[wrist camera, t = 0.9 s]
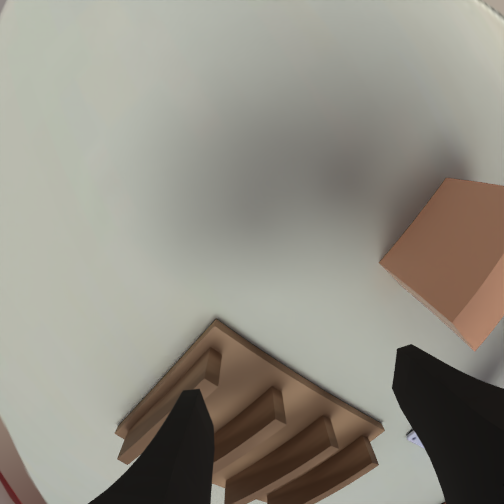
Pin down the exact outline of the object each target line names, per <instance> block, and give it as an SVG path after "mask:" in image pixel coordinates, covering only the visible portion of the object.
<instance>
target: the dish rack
mask: <svg viewBox="0 0 504 504" xmlns="http://www.w3.org/2000/svg"><path fill="white" fill-rule="evenodd" d="M192 389H200V391H201V393H202V396H203V399H204V402H205V404H206V407H207V409H208V412H209V415H210V417H211V420H212V422H213V425H214V445H215V451H214V463H213V475H212V483H213V484H215V485H218V486H220V487H223V488H225V503H224V504H247V503H249V502H251V501H253V500H255V499H257V500H260V501H264V502H267V504H315V503H317V502H318V501H320V500H322V499H324V498H326V497H328V496H330V495H331V494H333V493H335V492H337V491H338V490H340V489H342V488H344V487H345V486H347V485H349V484H350V483H352V482H353V481H355V480H357V479H358V478H360V477H361V476H363V475H364V474H366V473H368V472H369V471H371V470H372V469H374V468H375V467H376V466H378V465H379V464H378V461H377V459H376V456H375V454H374V451H373V449H372V446H371V444H370V442H371V441H372V440H373V439H375V438H376V437H377V436H379V435H380V434H381V433H382V432H384V431H385V430H384V428H383V426H382V424H381V423H379V422H378V421H376V420H374V419H372V418H370V417H369V416H367V415H365V414H363V413H362V412H360V411H358V410H356V409H355V408H353V407H351V406H349V405H348V404H346V403H344V402H343V401H341V400H339V399H338V398H336V397H334V396H332V395H331V394H329V393H328V392H326V391H324V390H323V389H321V388H319V387H318V386H316V385H314V384H313V383H311V382H310V381H308V380H306V379H305V378H303V377H302V376H300V375H298V374H297V373H295V372H294V371H292V370H291V369H289V368H287V367H286V366H284V365H283V364H281V363H280V362H278V361H277V360H275V359H274V358H272V357H271V356H269V355H268V354H266V353H265V352H263V351H262V350H260V349H259V348H257V347H256V346H254V345H253V344H251V343H250V342H248V341H247V340H245V339H244V338H243V337H241V336H240V335H238V334H237V333H235V332H234V331H232V330H231V329H230V328H228V327H227V326H225V325H224V324H223V323H221V322H220V321H218V320H217V319H216V320H215V321H214V322H213V323H212V324H211V325H210V326H209V327H208V328H207V330H206V331H205V332H204V333H203V334H202V335H201V336H200V337H199V338H198V340H197V341H196V342H195V343H194V344H193V345H192V346H191V347H190V348H189V350H188V351H187V352H186V353H185V354H184V355H183V356H182V357H181V358H180V359H179V361H178V362H177V363H176V364H175V365H174V366H173V367H172V368H171V369H170V370H169V372H168V373H167V374H166V375H165V376H164V377H163V378H162V379H161V380H160V381H159V383H158V384H157V385H156V386H155V387H154V388H153V389H152V390H151V391H150V392H149V393H148V394H147V396H146V397H145V398H144V399H143V400H142V401H141V402H140V403H139V404H138V405H137V406H136V407H135V409H134V410H133V411H132V412H131V413H130V414H129V415H128V416H127V417H126V418H125V419H124V420H123V421H122V423H121V424H120V425H119V426H118V427H117V429H116V432H115V434H116V435H118V436H120V437H121V438H123V439H124V443H123V445H122V448H121V450H120V453H119V456H118V458H117V459H118V460H120V461H121V462H123V463H125V464H127V465H128V464H129V463H131V462H132V461H133V460H134V459H136V458H137V457H138V456H139V455H141V454H142V453H143V451H144V450H145V449H146V447H147V446H148V445H149V443H150V442H151V441H152V439H153V438H154V436H155V435H156V434H157V432H158V430H159V429H160V427H161V426H162V424H163V423H164V421H165V420H166V418H167V416H168V415H169V413H170V411H171V410H172V408H173V406H174V405H175V403H176V401H177V399H178V398H179V396H180V394H181V392H182V391H183V390H192Z"/></svg>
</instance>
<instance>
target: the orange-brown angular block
mask: <svg viewBox="0 0 504 504" xmlns="http://www.w3.org/2000/svg"><path fill="white" fill-rule="evenodd" d="M379 263H380V264H381V265H382V266H383V267H384V268H385V269H386V270H387V271H388V272H389V273H390V274H391V275H392V276H393V277H394V278H395V279H396V280H397V282H398V283H399V284H400V285H401V286H402V287H403V288H404V289H406V290H407V291H408V292H409V293H410V294H411V295H413V296H414V297H415V298H416V299H417V300H418V301H420V302H421V303H422V304H423V305H424V306H425V307H426V308H428V309H429V310H430V311H431V312H432V313H433V314H434V315H435V316H437V317H438V318H439V319H440V320H441V321H442V322H443V323H444V324H446V325H447V326H448V327H449V328H450V329H451V330H452V331H453V332H454V333H455V334H456V335H458V336H459V337H460V338H461V339H462V340H463V341H464V342H465V343H466V344H467V345H468V346H469V347H470V348H471V349H472V350H473V351H476V350H477V349H478V347H479V346H480V345H481V344H482V343H483V341H484V340H485V339H486V338H487V337H488V335H489V334H490V333H491V332H492V330H493V329H494V328H495V326H496V325H497V324H498V323H499V321H500V320H501V319H502V317H503V316H504V186H501V185H495V184H488V183H482V182H475V181H467V180H460V179H452V178H446V179H445V180H444V181H443V183H442V184H441V185H440V187H439V188H438V190H437V191H436V192H435V194H434V195H433V196H432V198H431V199H430V200H429V202H428V203H427V204H426V206H425V207H424V208H423V209H422V211H421V212H420V213H419V215H418V216H417V217H416V218H415V220H414V221H413V222H412V224H411V225H410V226H409V227H408V229H407V230H406V231H405V232H404V233H403V235H402V236H401V237H400V238H399V240H398V241H397V242H396V243H395V244H394V246H393V247H392V248H391V249H390V250H389V252H388V253H387V254H386V255H385V256H384V257H383V259H382V260H381V261H380V262H379Z"/></svg>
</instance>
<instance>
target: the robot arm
mask: <svg viewBox="0 0 504 504" xmlns="http://www.w3.org/2000/svg"><path fill="white" fill-rule="evenodd" d="M392 389H393V391H394V394H395V396H396V399H397V401H398V403H399V405H400V408H401V410H402V411H403V413H404V415H405V416H406V418H407V420H408V421H409V423H410V425H411V426H412V428H413V431H412V432H411V433H409V434H408V435H407V440H409V441H410V442H412V443H415V444H417V445H419V446H421V447H423V448H425V450H426V452H427V454H428V455H429V457H430V460H431V462H432V465H433V467H434V469H435V472H436V474H437V477H438V480H439V483H440V485H441V488H442V491H443V494H444V498H445V501H446V504H504V389H503V388H500V387H497V386H494V385H491V384H488V383H485V382H483V381H480V380H478V379H476V378H474V377H471V376H469V375H467V374H465V373H463V372H461V371H459V370H457V369H455V368H453V367H451V366H449V365H448V364H446V363H444V362H442V361H440V360H439V359H437V358H435V357H433V356H432V355H430V354H428V353H426V352H425V351H423V350H421V349H419V348H417V347H416V346H414V345H412V344H410V345H407V346H404V347H401V348H398V349H397V355H396V363H395V371H394V378H393V385H392ZM214 451H215V445H214V425H213V422H212V420H211V417H210V415H209V412H208V409H207V407H206V404H205V402H204V399H203V396H202V393H201V391H200V389H192V390H183V391H182V392H181V394H180V396H179V398H178V399H177V401H176V403H175V405H174V406H173V408H172V410H171V411H170V413H169V415H168V416H167V418H166V420H165V421H164V423H163V424H162V426H161V427H160V429H159V430H158V432H157V434H156V435H155V436H154V438H153V439H152V441H151V442H150V443H149V445H148V446H147V447H146V449H145V450H144V451H143V453H142V454H141V455H140V456H139V458H138V459H137V460H136V461H135V462H134V463H133V465H132V466H131V467H130V468H129V469H128V470H127V471H126V472H125V473H124V474H123V475H122V476H121V477H120V478H119V479H118V480H117V481H116V482H115V483H114V484H113V485H111V486H110V487H109V488H108V489H107V490H106V491H104V492H103V493H102V494H100V495H99V496H98V497H96V498H95V499H94V500H92V501H91V502H90V503H88V504H210V501H211V487H212V475H213V463H214Z"/></svg>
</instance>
